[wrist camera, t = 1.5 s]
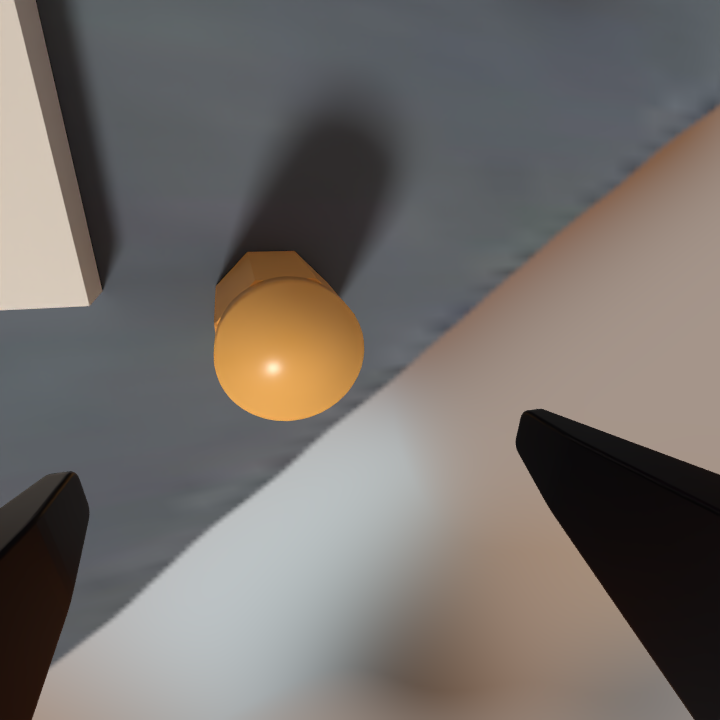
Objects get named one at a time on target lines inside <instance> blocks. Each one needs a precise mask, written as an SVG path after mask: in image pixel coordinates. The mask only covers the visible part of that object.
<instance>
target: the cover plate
mask: <svg viewBox="0 0 720 720" xmlns="http://www.w3.org/2000/svg"><path fill="white" fill-rule="evenodd" d="M101 292H102V287H101V283H100V279H99V274H98V270H97V265H96V261H95V257H94V252H93V248H92V244H91V239H90V235H89V231H88V226H87V222H86V218H85V213H84V209H83V204H82V200H81V196H80V191H79V187H78V183H77V178H76V174H75V170H74V165H73V161H72V157H71V152H70V148H69V143H68V139H67V135H66V130H65V126H64V122H63V117H62V113H61V109H60V104H59V100H58V96H57V91H56V87H55V82H54V78H53V74H52V69H51V65H50V61H49V56H48V52H47V48H46V43H45V39H44V35H43V30H42V26H41V21H40V17H39V13H38V8H37V4H36V0H0V310H15V309H36V308H56V307H77V306H90V305H91V304H92V302H93V301H94V300H95V299H96V298H97V297H98V296H99V295H100V293H101Z"/></svg>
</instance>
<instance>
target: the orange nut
mask: <svg viewBox="0 0 720 720" xmlns="http://www.w3.org/2000/svg"><path fill="white" fill-rule="evenodd" d="M214 325H215V341H214V365H215V370H216V374H217V377H218V380H219V382H220V384H221V386H222V388H223V389H224V391H225V392H226V393H227V395H228V396H229V397H230V398H231V399H232V400H233V401H234V402H235V403H236V404H237V405H238V406H240V407H241V408H242V409H244V410H246V411H248V412H249V413H251V414H254V415H256V416H259V417H262V418H266V419H270V420H277V421H290V420H299V419H304V418H307V417H311V416H314V415H316V414H318V413H321V412H323V411H324V410H326V409H328V408H330V407H331V406H333V405H334V404H335V403H337V402H338V401H339V400H340V399H341V398H342V397H343V396H344V395H345V394H346V393H347V392H348V391H349V389H350V388H351V387H352V385H353V384H354V382H355V380H356V378H357V377H358V374H359V372H360V369H361V366H362V362H363V356H364V340H363V334H362V331H361V328H360V325H359V323H358V321H357V319H356V317H355V314H354V313H353V312H352V311H351V310H350V308H349V307H348V306H347V305H346V304H345V303H344V301H343V300H342V299H341V298H340V297H339V296H338V295H337V293H336V292H335V291H334V290H333V289H332V287H331V286H330V285H329V284H328V283H327V282H326V281H325V280H324V279H323V278H322V277H321V276H320V275H319V274H318V273H317V272H316V271H315V270H314V269H313V268H312V267H311V266H310V265H309V264H308V263H306V262H305V261H304V260H303V259H302V258H301V257H300V256H299V255H298V254H297V253H296V252H295V251H263V252H247V253H246V254H245V255H244V256H243V257H242V258H241V259H240V260H239V261H238V262H237V264H236V265H235V266H234V267H233V268H232V269H231V270H230V271H229V272H228V273H227V274H226V275H225V277H224V278H223V279H222V280H221V281H220V282H219V283H218V284H217V285H216V292H215V316H214Z"/></svg>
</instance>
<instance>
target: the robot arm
mask: <svg viewBox="0 0 720 720" xmlns="http://www.w3.org/2000/svg"><path fill="white" fill-rule="evenodd" d="M516 448H517V451H518V453H519V455H520V457H521V458H522V460H523V462H524V464H525V466H526V467H527V469H528V471H529V473H530V475H531V476H532V478H533V480H534V482H535V484H536V486H537V487H538V489H539V491H540V493H541V494H542V496H543V498H544V500H545V502H546V503H547V505H548V507H549V508H550V510H551V511H552V513H553V515H554V516H555V518H556V519H557V520H558V522H559V524H560V525H561V526H562V528H563V529H564V531H565V532H566V534H567V535H568V536H569V538H570V539H571V541H572V542H573V544H574V545H575V547H576V548H577V550H578V551H579V553H580V554H581V556H582V557H583V558H584V560H585V561H586V563H587V564H588V566H589V567H590V569H591V570H592V571H593V573H594V574H595V576H596V577H597V579H598V580H599V582H600V583H601V585H602V586H603V588H604V589H605V590H606V592H607V593H608V595H609V596H610V598H611V599H612V600H613V602H614V604H615V605H616V606H617V608H618V609H619V611H620V612H621V614H622V615H623V617H624V618H625V620H626V621H627V622H628V624H629V625H630V627H631V628H632V630H633V631H634V633H635V634H636V636H637V637H638V638H639V640H640V641H641V643H642V644H643V646H644V647H645V649H646V650H647V652H648V653H649V655H650V656H651V657H652V659H653V660H654V662H655V663H656V665H657V666H658V667H659V669H660V671H661V672H662V673H663V675H664V676H665V678H666V679H667V681H668V682H669V684H670V685H671V687H672V688H673V690H674V691H675V692H676V694H677V695H678V697H679V698H680V700H681V701H682V703H683V704H684V705H685V707H686V708H687V710H688V711H689V713H690V714H691V716H692V717H693V719H694V720H720V475H719V474H716V473H713V472H711V471H708V470H705V469H703V468H700V467H697V466H695V465H692V464H689V463H687V462H684V461H681V460H679V459H676V458H673V457H671V456H668V455H665V454H662V453H660V452H657V451H654V450H651V449H649V448H646V447H644V446H641V445H638V444H635V443H633V442H630V441H627V440H624V439H622V438H619V437H616V436H614V435H611V434H608V433H606V432H603V431H600V430H598V429H595V428H592V427H589V426H587V425H584V424H581V423H578V422H576V421H573V420H571V419H568V418H565V417H563V416H560V415H557V414H554V413H552V412H549V411H546V410H544V409H535V410H527V411H525V412H523V414H522V415H521V419H520V423H519V428H518V432H517V436H516ZM88 521H89V505H88V502H87V499H86V496H85V494H84V491H83V488H82V485H81V482H80V479H79V477H78V475H77V474H76V473H74V472H72V471H69V472H62V473H54V474H49V475H46V476H45V477H43V478H42V479H40V480H39V481H38V482H36V483H35V484H33V485H32V486H31V487H29V488H28V489H26V490H25V491H24V492H22V493H21V494H19V495H18V496H17V497H15V498H14V499H12V500H11V501H10V502H8V503H7V504H5V505H4V506H3V507H1V508H0V720H32V717H33V714H34V712H35V709H36V706H37V703H38V700H39V696H40V694H41V691H42V687H43V685H44V682H45V679H46V676H47V673H48V670H49V667H50V664H51V661H52V658H53V655H54V652H55V649H56V646H57V643H58V640H59V637H60V634H61V631H62V628H63V625H64V622H65V619H66V616H67V613H68V610H69V606H70V603H71V599H72V595H73V591H74V587H75V582H76V577H77V573H78V568H79V563H80V558H81V554H82V549H83V544H84V540H85V535H86V530H87V526H88Z"/></svg>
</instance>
